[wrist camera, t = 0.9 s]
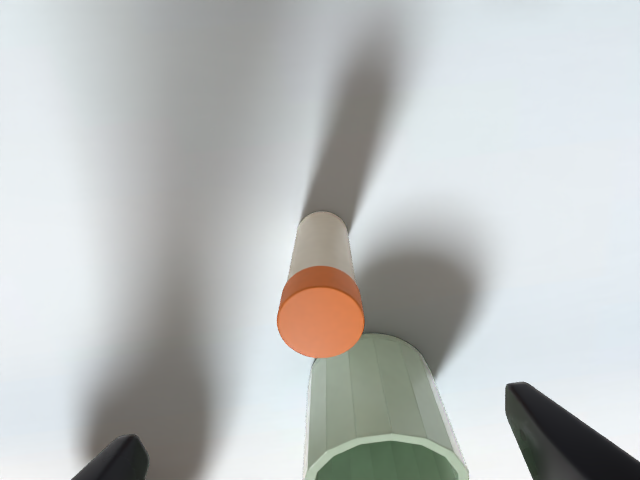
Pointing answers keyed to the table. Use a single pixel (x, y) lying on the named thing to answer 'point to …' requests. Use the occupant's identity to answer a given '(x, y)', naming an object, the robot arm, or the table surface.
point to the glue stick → (321, 291)
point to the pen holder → (378, 417)
